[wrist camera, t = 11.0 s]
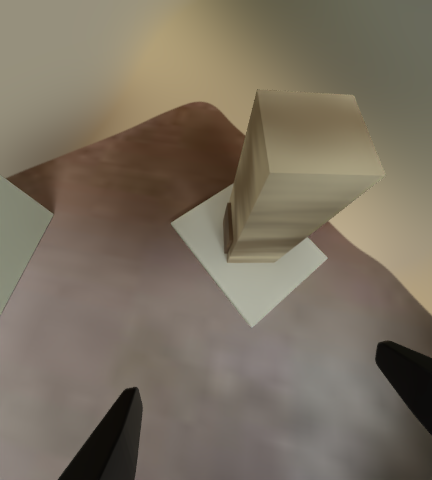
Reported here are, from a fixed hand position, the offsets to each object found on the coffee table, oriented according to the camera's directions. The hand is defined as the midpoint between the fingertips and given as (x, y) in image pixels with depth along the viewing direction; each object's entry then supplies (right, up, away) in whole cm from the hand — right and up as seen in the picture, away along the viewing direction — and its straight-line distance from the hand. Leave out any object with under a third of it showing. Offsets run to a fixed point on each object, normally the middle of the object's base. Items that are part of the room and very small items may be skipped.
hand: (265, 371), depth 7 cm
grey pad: (+1, +4, +13) cm, 14 cm away
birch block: (+1, +5, +13) cm, 14 cm away
